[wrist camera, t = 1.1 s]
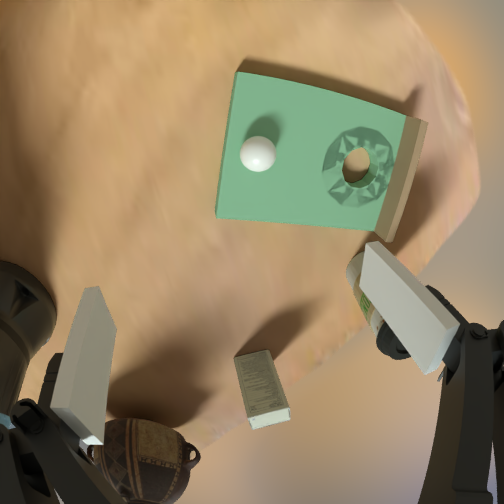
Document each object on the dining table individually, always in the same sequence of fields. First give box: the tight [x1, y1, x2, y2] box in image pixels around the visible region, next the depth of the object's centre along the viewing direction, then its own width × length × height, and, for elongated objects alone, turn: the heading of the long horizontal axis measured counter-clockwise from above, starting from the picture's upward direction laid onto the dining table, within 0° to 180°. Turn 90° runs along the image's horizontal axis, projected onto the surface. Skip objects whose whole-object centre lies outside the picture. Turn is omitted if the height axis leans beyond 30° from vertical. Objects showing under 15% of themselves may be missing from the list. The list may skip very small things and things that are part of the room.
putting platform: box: [215, 72, 428, 243], centre depth 32 cm, size 22×16×5 cm
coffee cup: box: [346, 251, 411, 360], centre depth 38 cm, size 10×10×15 cm
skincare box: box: [234, 350, 290, 429], centre depth 45 cm, size 6×4×12 cm
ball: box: [240, 136, 276, 172], centre depth 29 cm, size 4×4×4 cm
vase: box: [87, 418, 201, 504], centre depth 42 cm, size 23×19×30 cm
